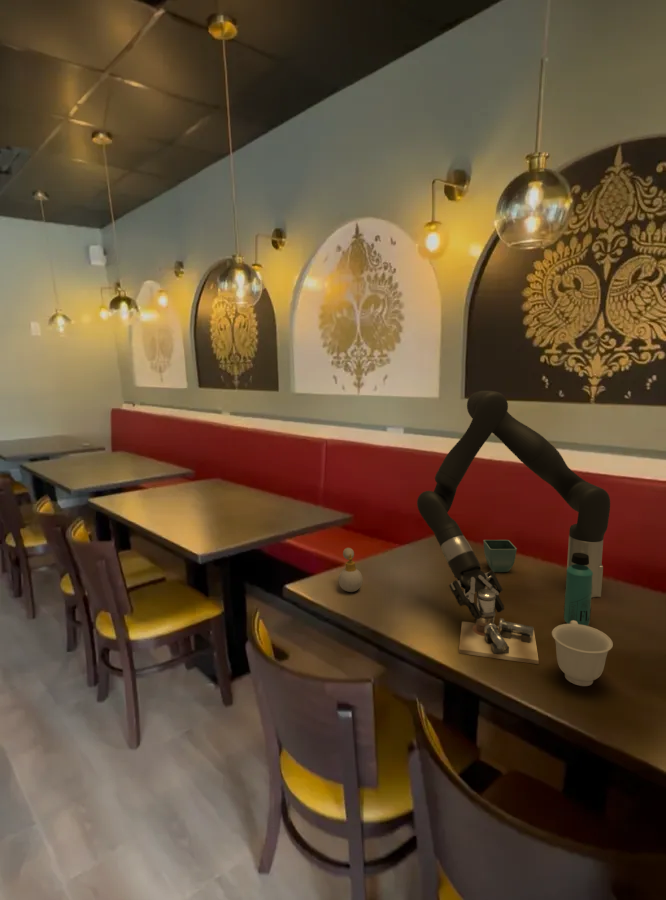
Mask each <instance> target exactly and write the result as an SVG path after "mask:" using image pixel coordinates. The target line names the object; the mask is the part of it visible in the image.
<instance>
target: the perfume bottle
mask: <svg viewBox="0 0 666 900" xmlns="http://www.w3.org/2000/svg"><path fill="white" fill-rule="evenodd" d="M342 556H343V558H344V559H346V560H347V561H346V562H345V568H343V570H341V571H340V573H339V575H338V585H339V586H340V588H341V589H342V590H343V591H345V592H347V593H354V592H356V591H358V590H360V588H361V587H362V585H363V580H364V579H363V574H362V573H361V571H360V570H359V569H357V568H356V562H355V561H353V559H354V557H355V552H354V550H353V549H352V548H351V547H346V548H344V550H343V552H342Z"/></svg>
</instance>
